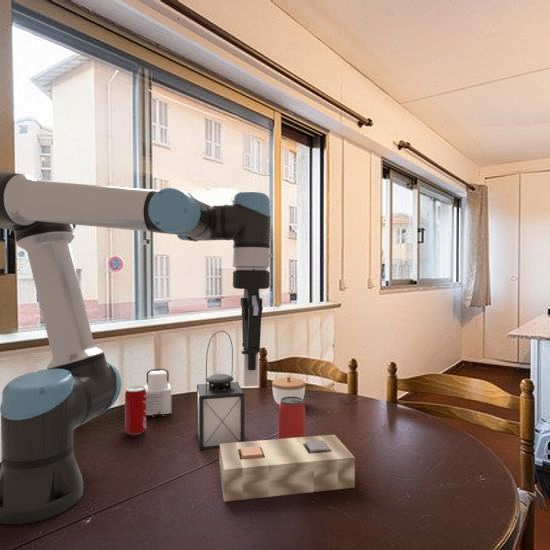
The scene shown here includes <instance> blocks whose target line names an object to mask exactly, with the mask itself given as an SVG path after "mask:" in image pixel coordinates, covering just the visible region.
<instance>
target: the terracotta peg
mask: <svg viewBox="0 0 550 550" xmlns="http://www.w3.org/2000/svg"><path fill="white" fill-rule="evenodd" d="M254 458H263V454H262V452H261V449H260V446H252V447H240V460H242V459H254Z"/></svg>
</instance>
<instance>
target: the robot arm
mask: <svg viewBox="0 0 550 550" xmlns="http://www.w3.org/2000/svg"><path fill="white" fill-rule="evenodd" d="M270 204H271V203H270V197H269V196H268V195H267V194H266V193H263V192H259V191H240V192H237V193H234V195H233V200H232V202H229V203H207V202H206V201H204V200H202V199H199V198H198V197H196V196H194V195H193V194H191V193H190V192H187V191H186V190H183V189H179V188H175V187H165V188H163V189H160V190H155V189H148V188H147V189H146V188H134V187H133V188H132V187H131V188H130V187H120V186H110V185H109V186H107V185H98V184H97V185H95V184H82V183H71V182H69V183H68V182H59V181H47V180H37V179H36V178H34V177H33V176H32V175H29V174H26V173H17V172H12V171H7V170H5V171H4V170H0V229H3V230H9V231H13V234H14V238H15V242H16V246H17V247H19V248H21V249H22V250H25V252H26V253H27V257H28V262H29V264H30V265H29V266H30V270H31V273H32V279H33V281H34V286H35V290H36V294H37V298H38V303H39V307H40V310H41V315H42V318H43V323H44V326H45V327H44V328H45V331H46V335H47V339H48V343H49V347H50V352H51V356H52V358H51V360H50V362H49V363H48V365H47V366H46V368H45V369H40V370H38V371H32V372H31V371H30V372H27V373H24V374H21V375H19V376H17V377H15V378H13V379H12V380H10V381H9V382H8V383H7V384H6V385H5V386H4V387H3V389H2V392H1V402H0V403H1V404H0V425H1V426H0V431H1V433H0V436H1V438H0V440H1V445H0V446H1V467H0V524H3V525H25V524H32V523H35V522H37V523H38V522H41V521H44V520H47V519H50V518H53V517H55V516H57V515H59V514H62V513H64V512H65V511H67V510H69V509H71V508H72V507H74V505H76V504H77V503H78V502H79V501H80V500H81V499H82V496H83V495H84V480H83V479H84V478H83V476H82V473H81V470H80V467H79V465H78V463H77V460H76V457H75V454H74V430H75V429H76V428H79V427H80V426H82V425H84V424H86V423H87V422H89V421H91V420H92V419H94V418H97V417H100V416H102V414H104V413H105V412H107V411H108V409H111V407H112V406H114V404H115V403H116V401H117V400H118V398H119V396H120V394H121V391H122V390H121V389H122V379H121V375H120V372H119V370H118V368H117V367H116V366H115V365H113V364H112V363H111V362H109V361H107V358H106V356H105V351H104V350H102V349H100V348H99V347H96V345H95V341H94V338H93V337H94V336H93V335H92V330H91V325H90V321H89V318H88V314H87V310H86V306H85V305H86V304H85V301H84V297H83V294H82V289H81V285H80V282H79V278H78V273H77V268H76V265H75V261H74V257H73V253H72V248H71V243H72V242H73V240H74V239H75V237H76V235H75V231H74V230H75V228H76V227H77V226H85V227H86V226H87V227H94V228H95V227H97V228H106V229H107V228H108V229H118V230H130V231H138V232H140V231H141V232H151V233H156V234H157V233H158V234H167V235H176V236H177V238H178V239H179V240H181V241H190V242H198V241H199V242H200V241H232V243H233V244H232V246H233V247H232V267H233V268H235V270H233V272H232V287H233V289H235V290H236V289H238V290H243V297H240V306H241V320H242V321H241V324H242V325H241V326H242V329H241V331H242V343H241V346H242V348H243V350H241V355H243V386H244V387H250V386H251V387H254V386H255V387H256V386H257V387H258V386H259V385H258V384H259V380H258V379H259V353H261V352H260V351H261V334H262V333H261V332H262V331H261V330H262V314H263V311H264V310H263V299H262V297H260V290H267V289H269V288H270V285H271V284H270V283H271V281H270V279H271V278H270V277H271V276H270V275H271V274H270V273H271V272H270V271H269V270H268V268H270V263H271V262H270V261H271V260H270V259H271V258H272V259H273V253H272V252H270V251H271V250H270V248H271V245H270V244H271V242H270V241H271V218H272V216H271V210H270V209H271V206H270Z"/></svg>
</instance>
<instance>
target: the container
mask: <svg viewBox="0 0 550 550" xmlns="http://www.w3.org/2000/svg"><path fill="white" fill-rule="evenodd" d="M169 374H170V373H169V371H168V369H165V368H154V369H149V370H148V371H147V372H146V385H144V387H145V389H146V415H153V414H169V413H171V414H172V389H171V388H172V387H171V383H169V382H170V379H169V378H170V377H169Z"/></svg>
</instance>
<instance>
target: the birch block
mask: <svg viewBox="0 0 550 550" xmlns="http://www.w3.org/2000/svg"><path fill="white" fill-rule="evenodd" d="M312 441H324V442H325V444H326V445H327V446H328V447H329V452H321V453H310V454H309V453H308V452H307V450H306V448H305V442H312ZM252 446H260V449H261V452H262V454H263V458H254V459H242V460H240V447H252ZM355 465H356V457H355V456H354V455H353V454H352V452H350V450H349V449H348V448H347V447H346V445H344V444H343V443H342V441H341V440H340V439H339V438H338V437H337V436H336V434H324V435H312V436H311V435H310V436H305V437H297V438H285V439H279V438H276V439H274V438H273V439H264V440H247V441H244V442H235V443H223V444H220V449H219V477H220V484H221V490H222V497H223V502H233V501H241V500H251V499H252V500H253V499H260V498H271V497H278V496H288V495H289V496H290V495H296V494H307V493H316V492H324V491H326V492H327V491H333V490H343V489H344V490H345V489H354V488H355V487H356V485H355V483H356V481H355V480H356V475H355V474H356V469H355V468H356V466H355Z"/></svg>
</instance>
